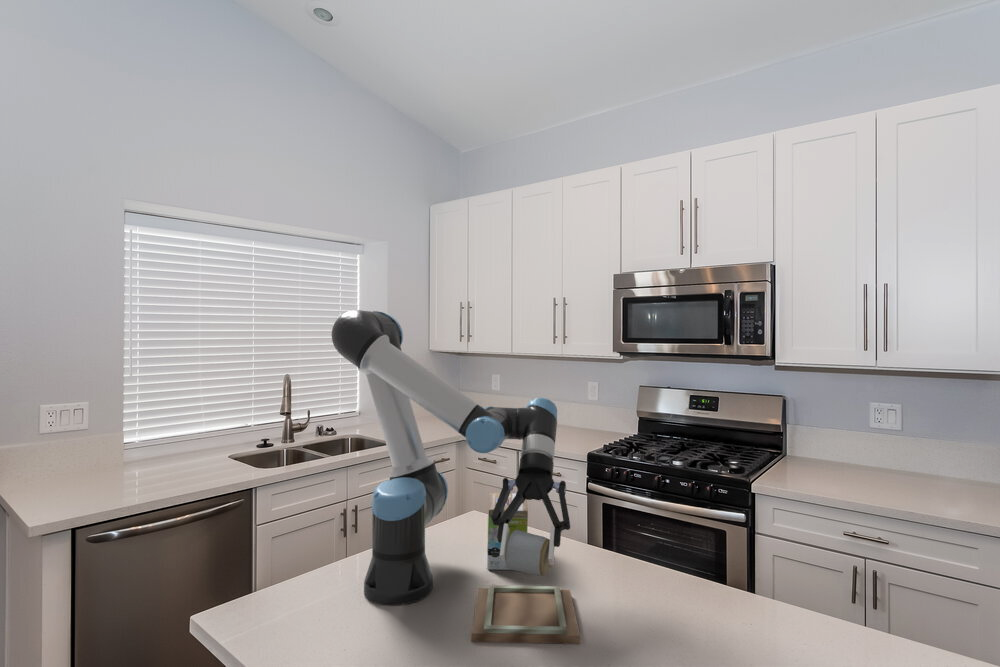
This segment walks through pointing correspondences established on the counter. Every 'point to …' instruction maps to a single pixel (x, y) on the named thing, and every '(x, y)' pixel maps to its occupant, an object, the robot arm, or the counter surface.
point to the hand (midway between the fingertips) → (526, 559)
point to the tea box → (516, 523)
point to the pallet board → (524, 615)
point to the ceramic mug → (527, 553)
